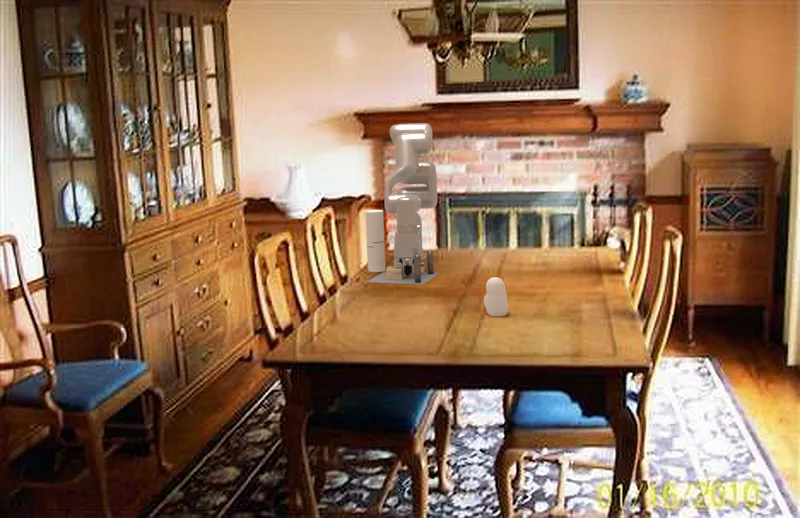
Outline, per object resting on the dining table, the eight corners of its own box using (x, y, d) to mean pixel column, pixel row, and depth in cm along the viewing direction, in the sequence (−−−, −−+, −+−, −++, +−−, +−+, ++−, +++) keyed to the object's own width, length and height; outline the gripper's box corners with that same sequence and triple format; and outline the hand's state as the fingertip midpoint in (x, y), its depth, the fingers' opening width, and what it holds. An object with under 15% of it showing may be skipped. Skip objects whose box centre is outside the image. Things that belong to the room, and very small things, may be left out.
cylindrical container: (385, 273, 371) (382, 211, 366) (367, 273, 371) (364, 212, 367) (385, 269, 378) (383, 209, 373) (368, 270, 378) (365, 210, 374)
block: (388, 276, 361) (387, 266, 361) (403, 276, 361) (402, 266, 360) (386, 279, 356) (386, 269, 355) (401, 279, 355) (401, 269, 354)
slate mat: (385, 272, 372) (385, 271, 372) (439, 274, 365) (439, 272, 365) (366, 283, 353) (366, 282, 353) (423, 285, 345) (423, 284, 345)
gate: (424, 272, 365) (424, 260, 364) (424, 273, 363) (423, 261, 363) (394, 272, 367) (394, 261, 366) (394, 273, 365) (393, 261, 365)
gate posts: (428, 272, 365) (427, 246, 363) (434, 273, 364) (434, 246, 362) (413, 282, 348) (412, 255, 346) (420, 283, 347) (419, 255, 345)
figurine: (501, 309, 305) (500, 274, 302) (512, 314, 298) (511, 278, 295) (482, 312, 302) (481, 276, 300) (492, 317, 295) (491, 281, 293)
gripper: (426, 226, 357) (427, 273, 361) (387, 227, 358) (389, 273, 362) (425, 229, 350) (427, 276, 353) (386, 230, 351) (388, 277, 354)
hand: (408, 275), depth 358 cm, fingers closed
